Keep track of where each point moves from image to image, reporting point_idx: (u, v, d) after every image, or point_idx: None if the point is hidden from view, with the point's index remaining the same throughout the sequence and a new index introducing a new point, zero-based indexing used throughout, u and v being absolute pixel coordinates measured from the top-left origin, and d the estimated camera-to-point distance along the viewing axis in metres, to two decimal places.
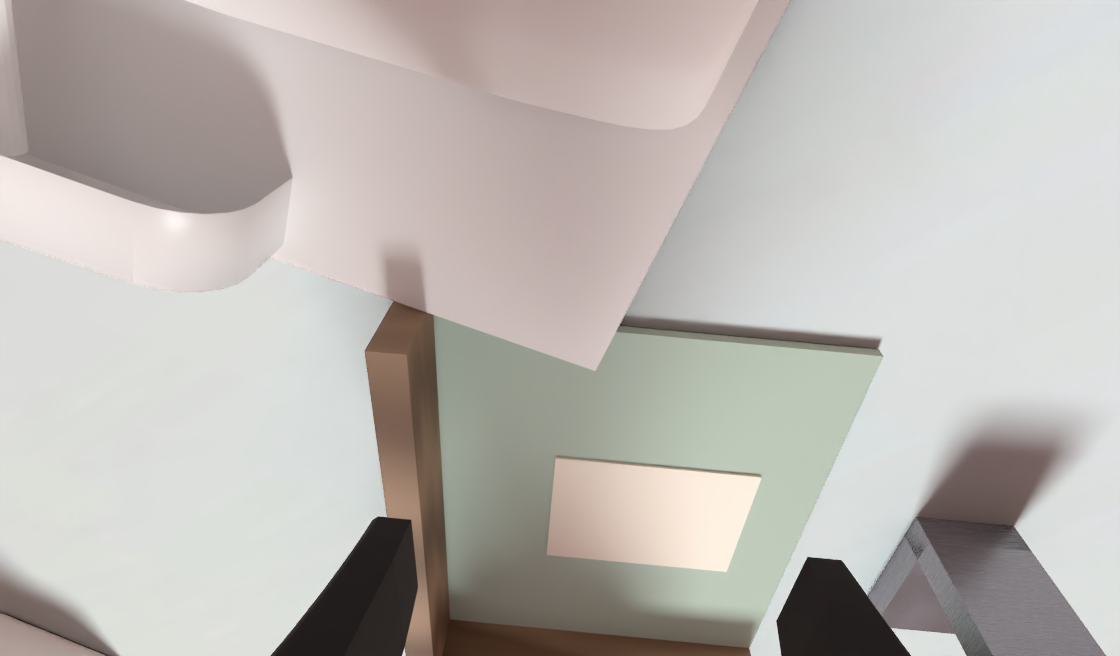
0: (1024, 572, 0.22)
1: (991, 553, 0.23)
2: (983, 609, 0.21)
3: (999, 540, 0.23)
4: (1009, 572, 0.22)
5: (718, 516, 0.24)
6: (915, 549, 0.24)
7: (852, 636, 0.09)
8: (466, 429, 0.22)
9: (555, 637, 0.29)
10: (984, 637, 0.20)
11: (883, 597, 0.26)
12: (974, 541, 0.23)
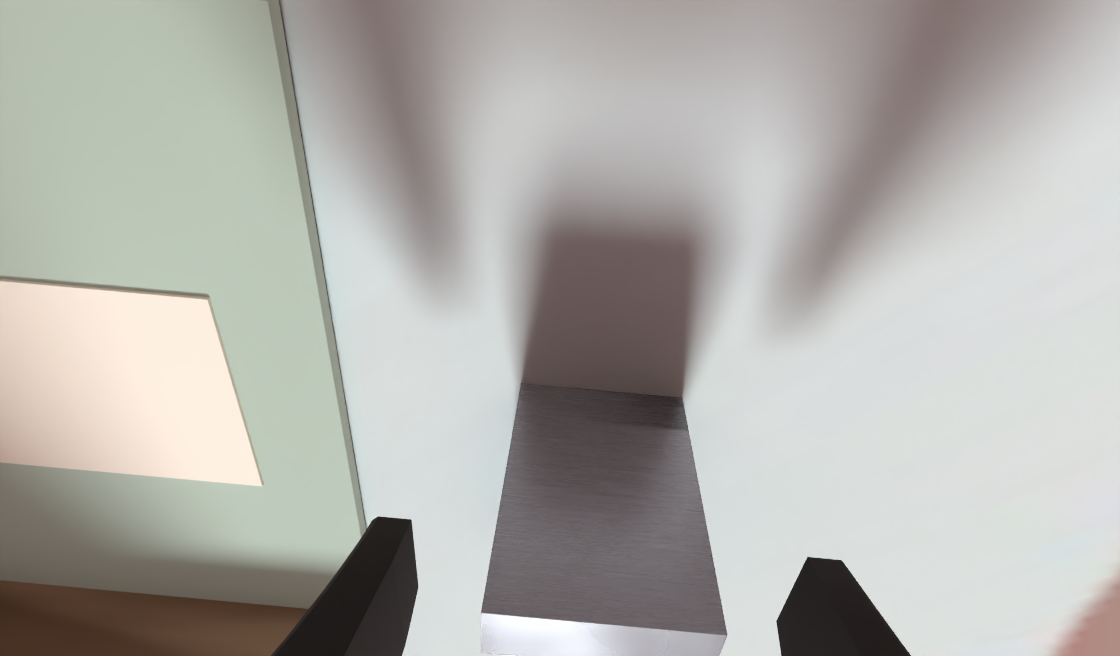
0: (653, 460, 0.13)
1: (613, 433, 0.13)
2: (530, 514, 0.11)
3: (642, 416, 0.14)
4: (625, 460, 0.13)
5: (193, 383, 0.15)
6: None
7: (852, 636, 0.09)
8: None
9: (78, 599, 0.19)
10: (496, 561, 0.10)
11: None
12: (596, 416, 0.14)
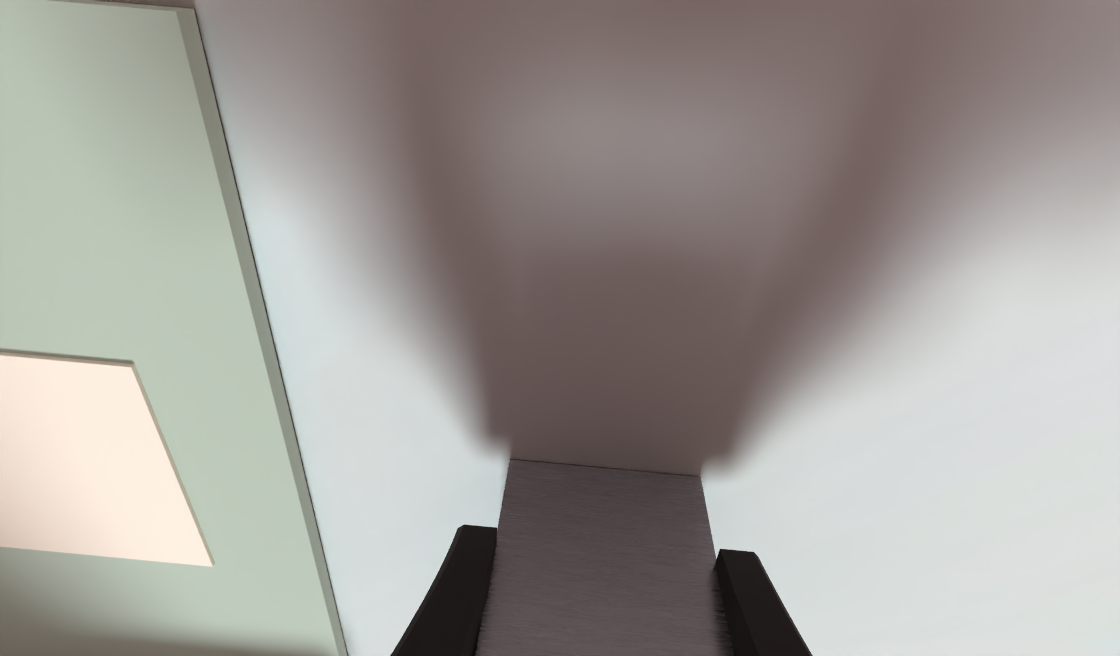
0: (667, 567, 0.10)
1: (619, 528, 0.11)
2: (516, 651, 0.09)
3: (653, 504, 0.12)
4: (634, 567, 0.10)
5: (124, 457, 0.12)
6: None
7: (750, 626, 0.09)
8: None
9: None
10: None
11: None
12: (598, 504, 0.11)
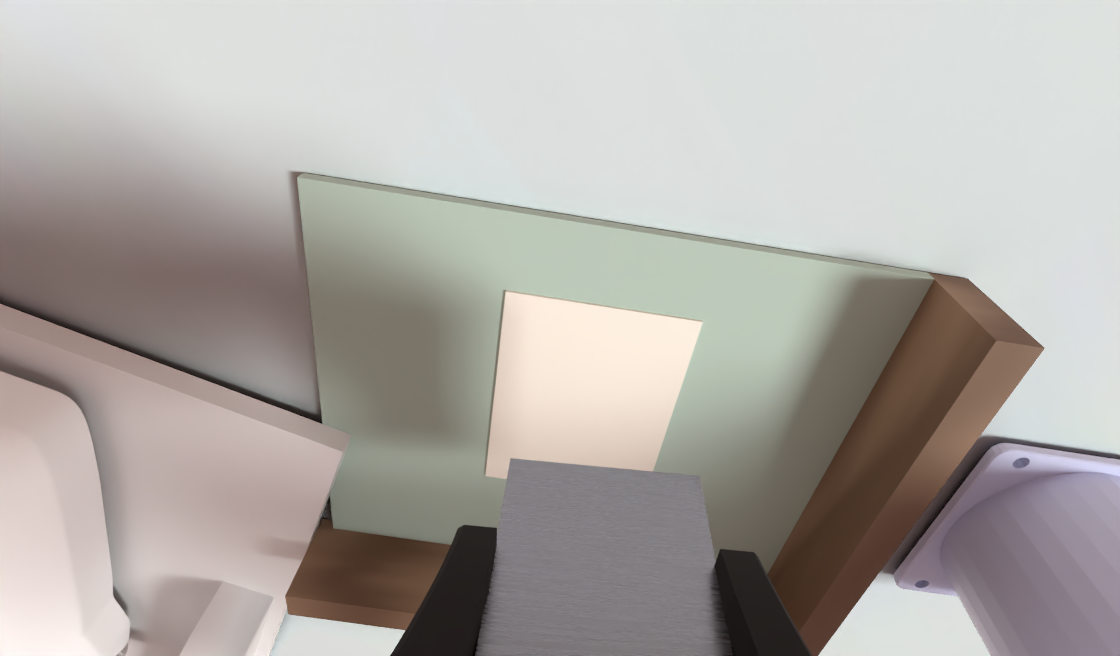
0: (667, 565, 0.10)
1: (619, 527, 0.11)
2: (516, 648, 0.09)
3: (653, 503, 0.12)
4: (633, 565, 0.10)
5: (585, 332, 0.18)
6: None
7: (750, 626, 0.09)
8: (455, 529, 0.24)
9: (810, 513, 0.22)
10: None
11: None
12: (599, 503, 0.12)
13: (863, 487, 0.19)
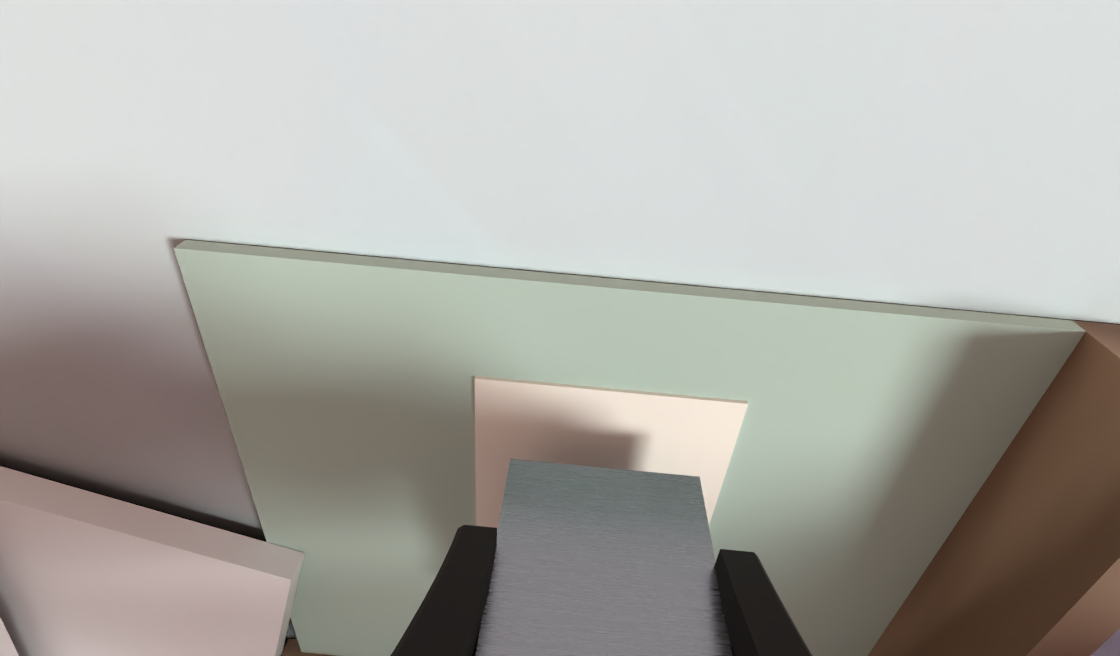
0: (666, 566, 0.10)
1: (619, 527, 0.11)
2: (516, 648, 0.09)
3: (652, 503, 0.12)
4: (633, 566, 0.10)
5: (587, 423, 0.14)
6: None
7: (750, 626, 0.09)
8: None
9: (902, 627, 0.16)
10: None
11: None
12: (599, 503, 0.12)
13: (986, 615, 0.13)
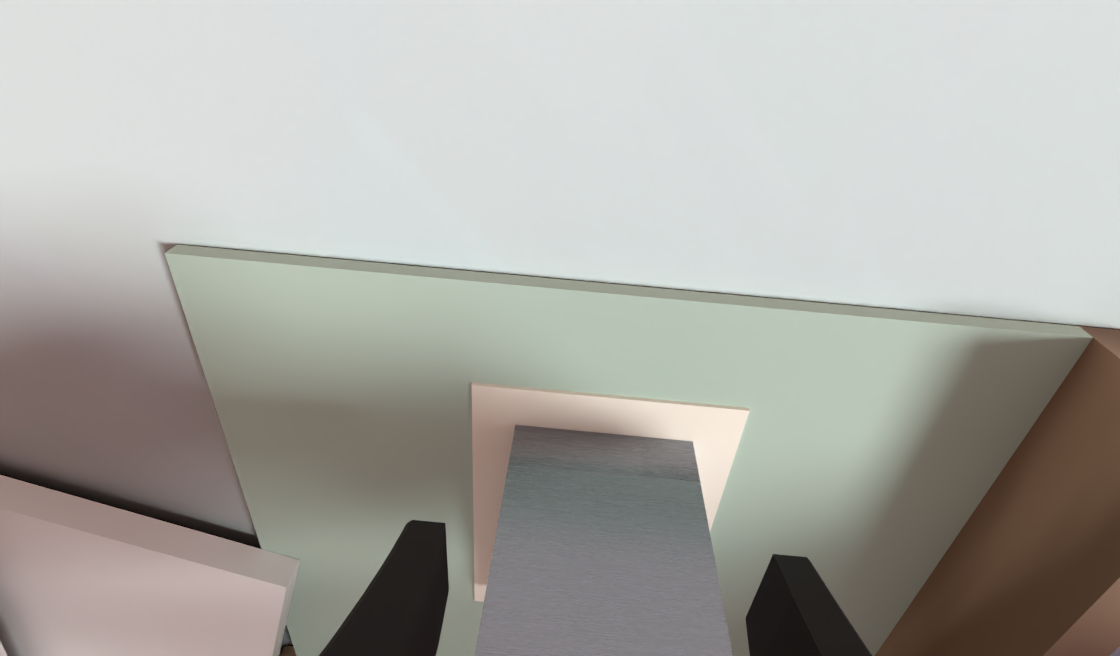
0: (661, 518, 0.11)
1: (617, 485, 0.12)
2: (523, 587, 0.10)
3: (648, 464, 0.12)
4: (630, 518, 0.11)
5: (586, 429, 0.13)
6: None
7: (812, 632, 0.09)
8: None
9: (904, 634, 0.16)
10: (483, 648, 0.09)
11: None
12: (598, 464, 0.12)
13: (991, 624, 0.13)
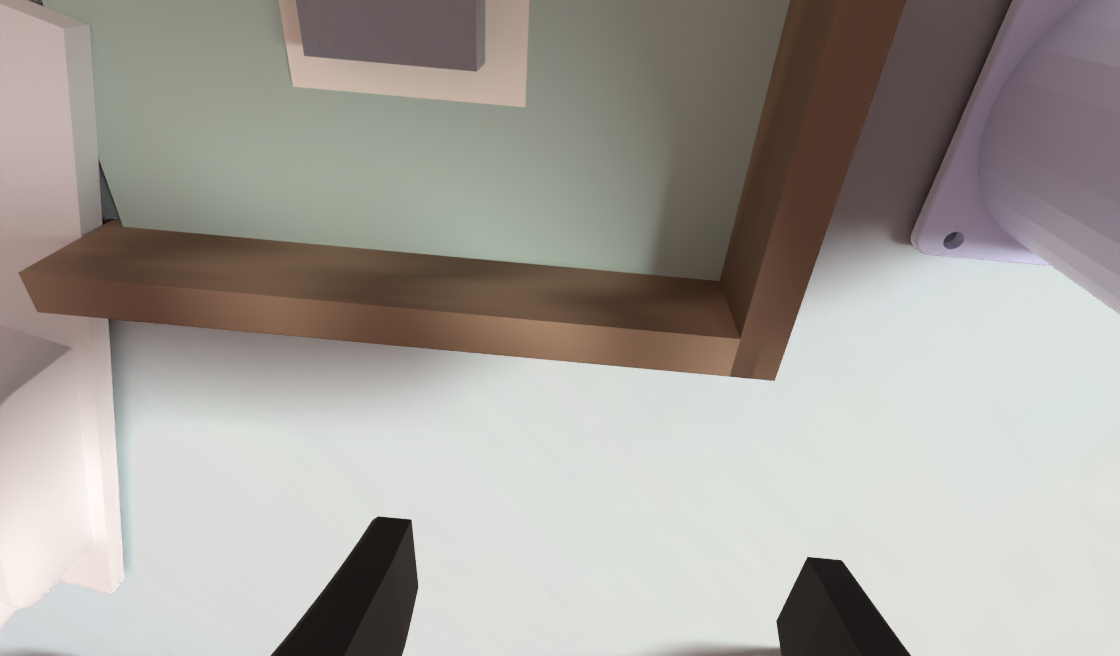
0: None
1: None
2: None
3: None
4: None
5: None
6: None
7: (852, 636, 0.09)
8: (282, 209, 0.17)
9: (770, 96, 0.14)
10: None
11: None
12: None
13: None
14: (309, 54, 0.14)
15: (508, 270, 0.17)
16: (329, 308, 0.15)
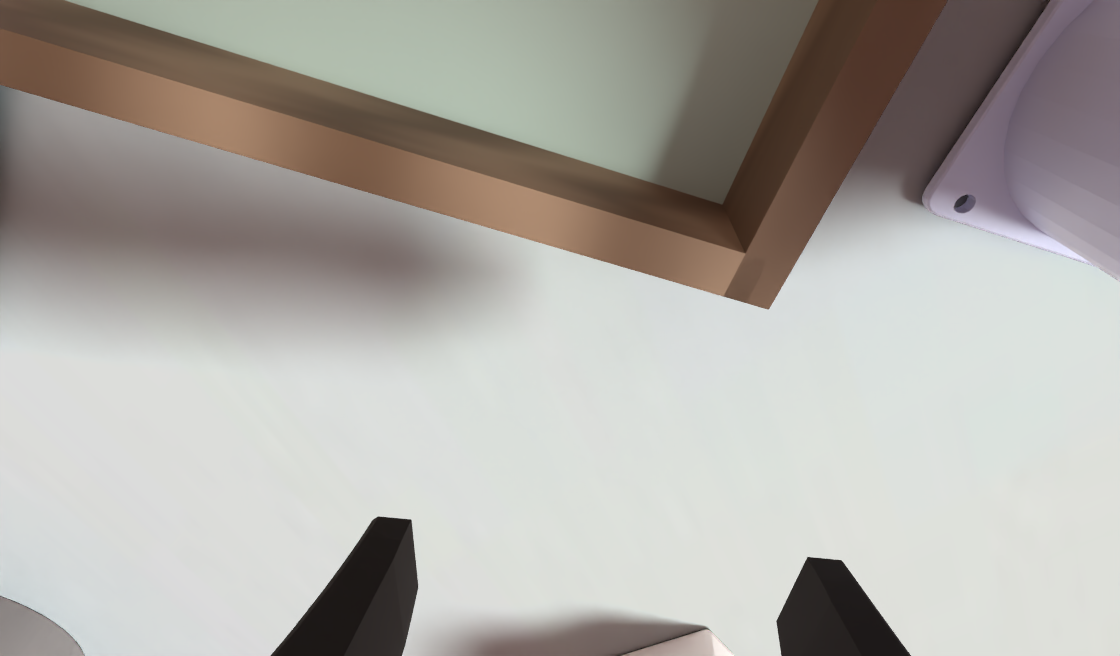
0: None
1: None
2: None
3: None
4: None
5: None
6: None
7: (852, 636, 0.09)
8: (245, 12, 0.14)
9: None
10: None
11: None
12: None
13: None
14: None
15: (500, 142, 0.15)
16: (287, 125, 0.13)
